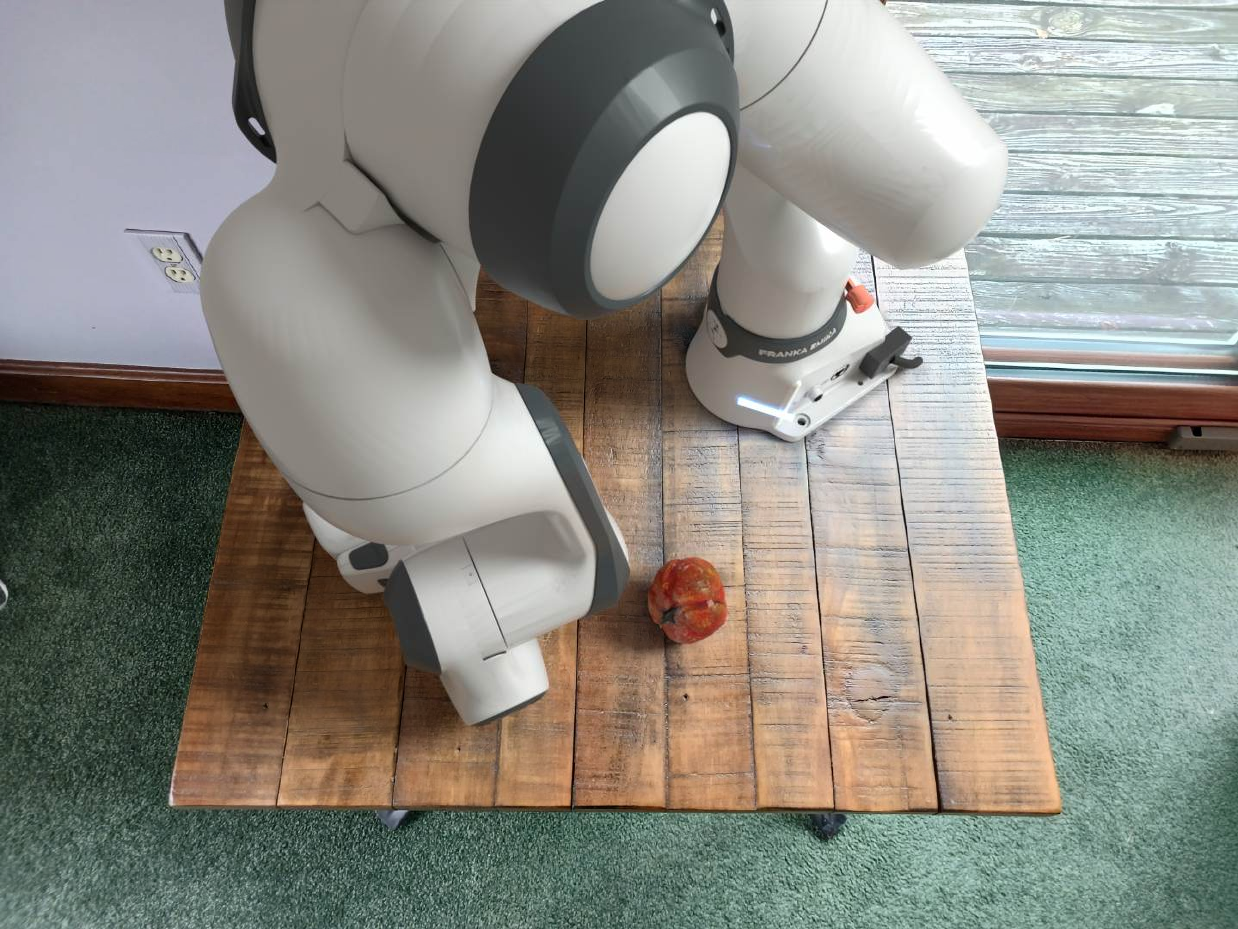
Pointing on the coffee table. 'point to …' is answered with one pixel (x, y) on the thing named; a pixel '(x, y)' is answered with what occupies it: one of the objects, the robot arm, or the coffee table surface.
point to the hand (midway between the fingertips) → (393, 418)
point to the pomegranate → (687, 600)
